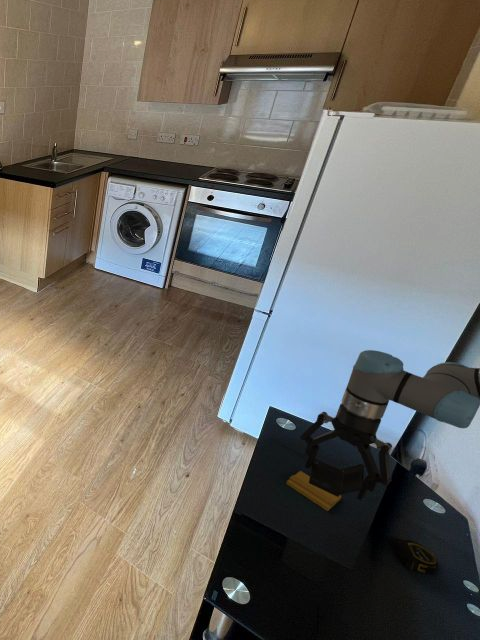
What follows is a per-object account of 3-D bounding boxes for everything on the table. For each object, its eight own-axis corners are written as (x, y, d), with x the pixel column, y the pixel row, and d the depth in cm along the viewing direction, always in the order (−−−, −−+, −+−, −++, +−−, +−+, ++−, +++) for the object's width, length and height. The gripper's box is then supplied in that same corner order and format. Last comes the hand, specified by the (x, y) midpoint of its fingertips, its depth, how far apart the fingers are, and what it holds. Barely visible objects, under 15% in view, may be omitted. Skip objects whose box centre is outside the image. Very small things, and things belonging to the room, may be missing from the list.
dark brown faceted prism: (305, 452, 113) (343, 442, 106) (327, 473, 112) (367, 464, 105) (306, 484, 105) (347, 475, 98) (329, 507, 103) (373, 500, 97)
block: (340, 499, 114) (342, 494, 113) (327, 511, 110) (329, 506, 110) (299, 473, 122) (301, 468, 122) (286, 483, 119) (287, 478, 118)
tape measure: (386, 544, 102) (391, 533, 100) (422, 554, 99) (427, 543, 98) (403, 571, 95) (409, 559, 94) (441, 582, 93) (447, 571, 92)
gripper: (299, 389, 107) (277, 456, 113) (421, 446, 88) (387, 523, 94) (312, 381, 110) (290, 446, 117) (432, 435, 91) (398, 509, 98)
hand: (333, 481), depth 106 cm, fingers closed on dark brown faceted prism, 10 cm apart
